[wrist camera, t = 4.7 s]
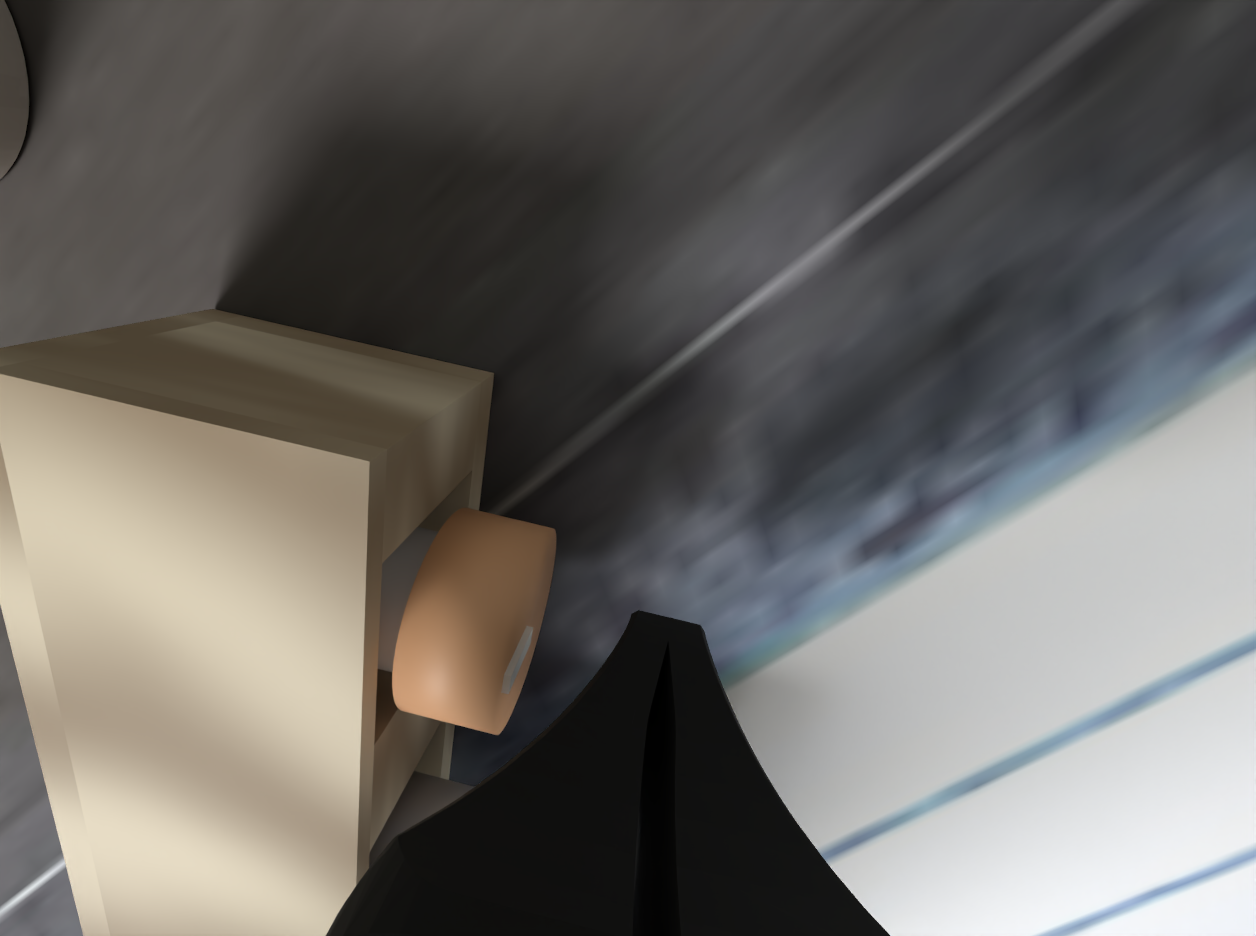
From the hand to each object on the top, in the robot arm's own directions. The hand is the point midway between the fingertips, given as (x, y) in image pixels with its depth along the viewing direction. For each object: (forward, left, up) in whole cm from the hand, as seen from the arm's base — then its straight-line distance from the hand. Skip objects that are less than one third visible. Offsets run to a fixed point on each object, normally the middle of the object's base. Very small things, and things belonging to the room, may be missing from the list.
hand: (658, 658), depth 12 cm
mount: (-4, +8, -3) cm, 9 cm away
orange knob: (0, +6, -2) cm, 6 cm away
